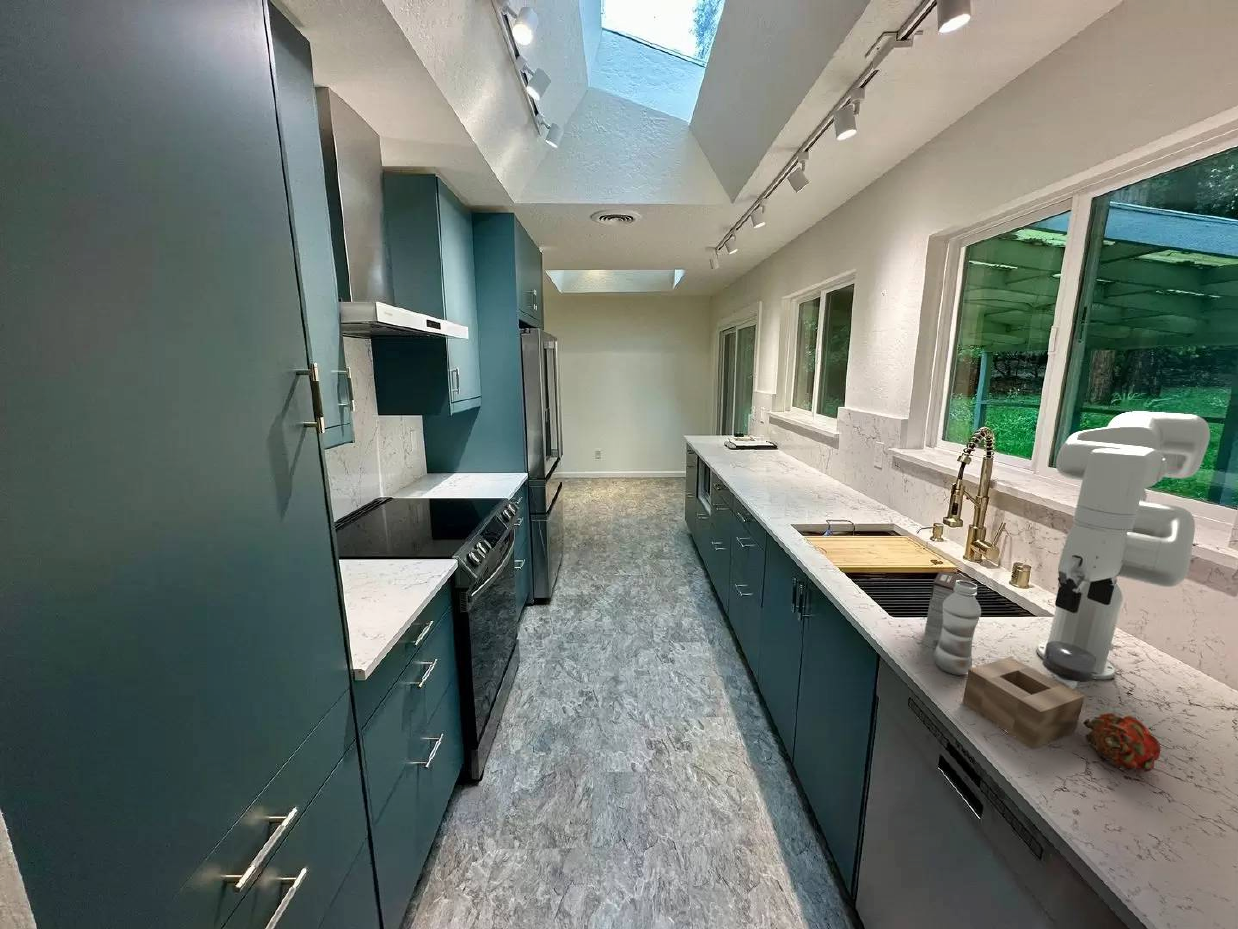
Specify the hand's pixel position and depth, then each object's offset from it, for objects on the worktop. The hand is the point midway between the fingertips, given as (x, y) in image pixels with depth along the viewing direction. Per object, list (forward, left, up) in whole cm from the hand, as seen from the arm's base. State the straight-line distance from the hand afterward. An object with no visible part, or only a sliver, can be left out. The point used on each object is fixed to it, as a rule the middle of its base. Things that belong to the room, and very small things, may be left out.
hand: (1082, 605), depth 88 cm
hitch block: (+12, 0, -21) cm, 24 cm away
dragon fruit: (+7, +12, -21) cm, 25 cm away
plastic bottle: (+10, -14, -21) cm, 27 cm away
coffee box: (+2, -22, -21) cm, 31 cm away
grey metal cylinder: (0, 0, -21) cm, 21 cm away
